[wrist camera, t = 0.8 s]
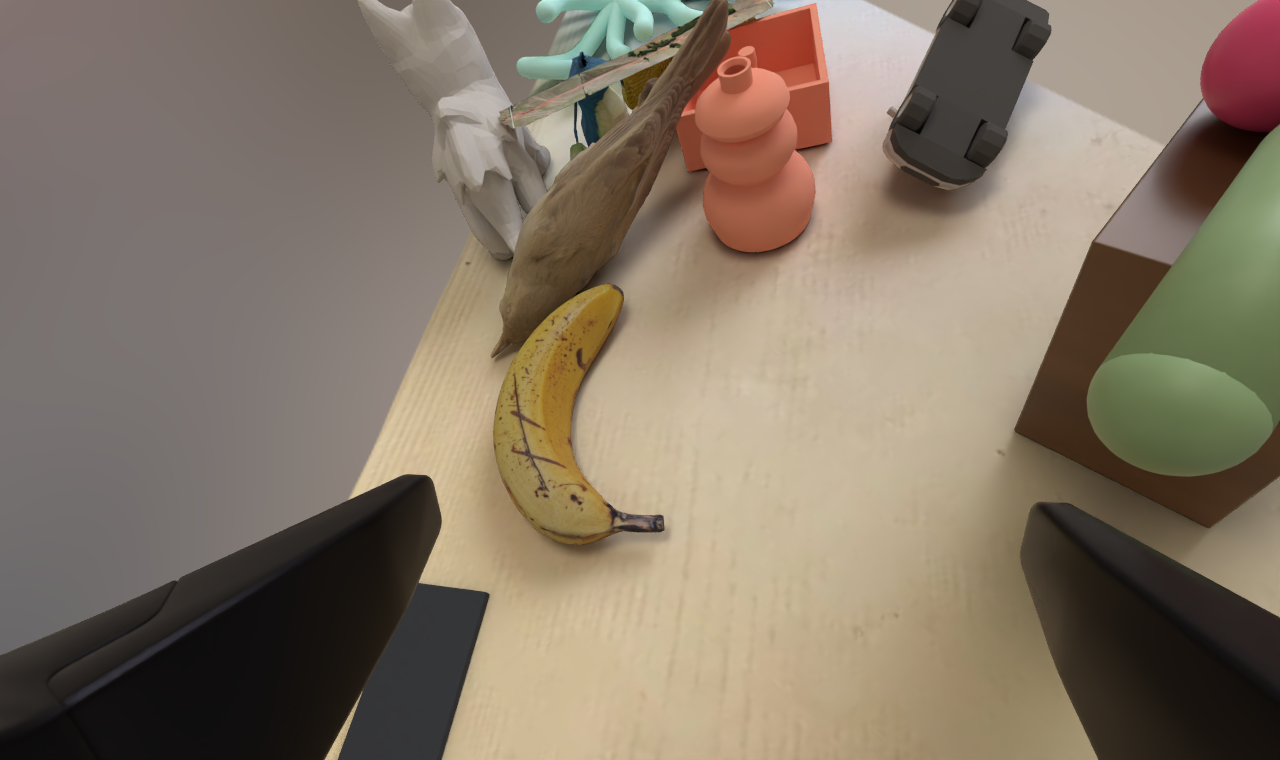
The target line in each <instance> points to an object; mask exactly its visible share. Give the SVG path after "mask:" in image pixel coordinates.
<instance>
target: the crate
mask: <svg viewBox="0 0 1280 760" xmlns="http://www.w3.org/2000/svg"><path fill="white" fill-rule="evenodd" d="M1269 133H1270V132H1254V131H1247V130H1243V129H1239V128H1236V127H1233V126H1231V125H1229V124H1227V123H1225V122H1223V121H1222V120H1220V119H1219V118H1217V117H1216V116H1215V115H1214V114H1213V113H1212V112H1211V111H1210V109H1209V108H1208V107H1207V105H1206V103H1205V101H1204V99H1202V100H1201V101H1200V103H1199V104H1198V105H1197V106H1196V108H1195V109H1194V110H1193V112H1192V113H1191V114H1190V116H1189V117H1188V118H1187V119H1186V121H1185V122H1184V123H1183V125H1182V126H1181V127H1180V129H1179V130H1178V131H1177V132H1176V134H1175V135H1174V136H1173V138H1172V139H1171V140H1170V142H1169V143H1168V144H1167V145H1166V147H1165V148H1164V149H1163V151H1162V152H1161V153H1160V154H1159V156H1158V157H1157V158H1156V160H1155V161H1154V162H1153V164H1152V165H1151V166H1150V167H1149V169H1148V170H1147V171H1146V173H1145V174H1144V175H1143V176H1142V178H1141V179H1140V180H1139V182H1138V183H1137V184H1136V186H1135V187H1134V188H1133V189H1132V191H1131V192H1130V193H1129V195H1128V196H1127V197H1126V199H1125V200H1124V201H1123V202H1122V204H1121V205H1120V206H1119V208H1118V209H1117V210H1116V212H1115V213H1114V214H1113V215H1112V217H1111V218H1110V219H1109V221H1108V222H1107V223H1106V224H1105V226H1104V227H1103V228H1102V230H1101V231H1100V232H1099V234H1098V235H1097V236H1096V237H1095V239H1094V240H1093V241H1092V243H1091V246H1090V248H1089V251H1088V253H1087V255H1086V258H1085V260H1084V263H1083V265H1082V267H1081V270H1080V272H1079V275H1078V277H1077V279H1076V282H1075V284H1074V287H1073V289H1072V292H1071V294H1070V296H1069V299H1068V301H1067V304H1066V306H1065V308H1064V311H1063V313H1062V316H1061V318H1060V320H1059V323H1058V325H1057V328H1056V330H1055V333H1054V335H1053V337H1052V340H1051V342H1050V345H1049V347H1048V349H1047V352H1046V354H1045V357H1044V359H1043V361H1042V364H1041V366H1040V369H1039V371H1038V374H1037V376H1036V378H1035V381H1034V383H1033V386H1032V388H1031V390H1030V393H1029V395H1028V398H1027V400H1026V402H1025V405H1024V407H1023V410H1022V412H1021V415H1020V417H1019V419H1018V422H1017V424H1016V427H1015V431H1016V432H1018V433H1020V434H1022V435H1024V436H1026V437H1028V438H1030V439H1032V440H1034V441H1036V442H1038V443H1040V444H1042V445H1044V446H1046V447H1048V448H1050V449H1052V450H1054V451H1056V452H1058V453H1060V454H1062V455H1064V456H1066V457H1068V458H1070V459H1072V460H1074V461H1076V462H1078V463H1080V464H1082V465H1084V466H1086V467H1088V468H1090V469H1092V470H1094V471H1096V472H1098V473H1100V474H1102V475H1104V476H1106V477H1108V478H1110V479H1112V480H1114V481H1116V482H1118V483H1120V484H1122V485H1124V486H1126V487H1128V488H1130V489H1132V490H1134V491H1136V492H1138V493H1140V494H1142V495H1144V496H1146V497H1148V498H1150V499H1152V500H1154V501H1156V502H1158V503H1160V504H1162V505H1164V506H1166V507H1168V508H1170V509H1172V510H1174V511H1176V512H1178V513H1180V514H1182V515H1184V516H1186V517H1188V518H1190V519H1192V520H1194V521H1196V522H1198V523H1200V524H1202V525H1204V526H1206V527H1208V528H1211V527H1212V526H1214V525H1215V524H1216V523H1218V522H1219V521H1220V520H1222V519H1223V518H1224V517H1226V516H1227V515H1229V514H1230V513H1231V512H1233V511H1234V510H1235V509H1237V508H1238V507H1239V506H1241V505H1242V504H1243V503H1245V502H1246V501H1247V500H1249V499H1250V498H1251V497H1253V496H1254V495H1255V494H1257V493H1258V492H1260V491H1261V490H1262V489H1264V488H1265V487H1266V486H1268V485H1269V484H1270V483H1272V482H1273V481H1274V480H1276V479H1277V478H1278V477H1280V421H1279V422H1278V424H1277V426H1276V427H1275V429H1274V431H1273V432H1272V434H1271V436H1270V437H1269V438H1268V439H1267V440H1266V442H1265V443H1264V444H1263V445H1262V446H1261V447H1260V449H1259V450H1258V451H1257V452H1256V453H1255V454H1253V455H1252V456H1250V457H1249V458H1247V459H1246V460H1244V461H1243V462H1241V463H1239V464H1238V465H1236V466H1233V467H1231V468H1228V469H1226V470H1223V471H1220V472H1216V473H1213V474H1206V475H1200V476H1190V477H1187V476H1170V475H1162V474H1157V473H1153V472H1149V471H1146V470H1143V469H1141V468H1138V467H1136V466H1134V465H1131V464H1130V463H1128V462H1126V461H1124V460H1122V459H1121V458H1119V457H1118V456H1116V455H1115V454H1114V453H1113V452H1111V451H1110V450H1109V449H1108V448H1107V447H1106V446H1105V445H1104V443H1103V442H1102V441H1101V440H1100V439H1099V438H1098V436H1097V435H1096V433H1095V432H1094V429H1093V427H1092V425H1091V422H1090V420H1089V417H1088V411H1087V394H1088V389H1089V386H1090V383H1091V380H1092V379H1093V377H1094V375H1095V373H1096V371H1097V370H1098V368H1099V367H1100V366H1101V364H1102V363H1103V361H1104V360H1105V359H1106V357H1107V356H1108V354H1109V353H1110V352H1111V350H1112V349H1113V347H1114V346H1115V345H1116V343H1117V342H1118V341H1119V339H1120V338H1121V336H1122V335H1123V334H1124V332H1125V331H1126V329H1127V328H1128V327H1129V325H1130V324H1131V322H1132V321H1133V320H1134V318H1135V317H1136V315H1137V314H1138V313H1139V311H1140V310H1141V308H1142V307H1143V306H1144V304H1145V303H1146V302H1147V300H1148V299H1149V297H1150V296H1151V295H1152V293H1153V292H1154V290H1155V289H1156V288H1157V286H1158V285H1159V283H1160V282H1161V281H1162V279H1163V278H1164V276H1165V275H1166V274H1167V272H1168V271H1169V269H1170V268H1171V267H1172V265H1173V264H1174V263H1175V261H1176V260H1177V258H1178V257H1179V256H1180V254H1181V253H1182V251H1183V250H1184V249H1185V247H1186V246H1187V244H1188V243H1189V242H1190V240H1191V239H1192V237H1193V236H1194V235H1195V233H1196V232H1197V230H1198V229H1199V228H1200V226H1201V225H1202V224H1203V222H1204V221H1205V219H1206V218H1207V217H1208V215H1209V214H1210V212H1211V211H1212V210H1213V208H1214V207H1215V205H1216V204H1217V203H1218V201H1219V200H1220V198H1221V197H1222V196H1223V194H1224V193H1225V191H1226V190H1227V189H1228V187H1229V186H1230V185H1231V183H1232V182H1233V180H1234V179H1235V178H1236V176H1237V175H1238V173H1239V172H1240V171H1241V169H1242V168H1243V166H1244V165H1245V164H1246V162H1247V161H1248V159H1249V158H1250V157H1251V155H1252V154H1253V153H1254V151H1255V150H1256V148H1257V147H1258V146H1259V144H1260V143H1261V142H1262V141H1263V139H1264V138H1265V137H1266V136H1267V135H1268V134H1269Z"/></svg>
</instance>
